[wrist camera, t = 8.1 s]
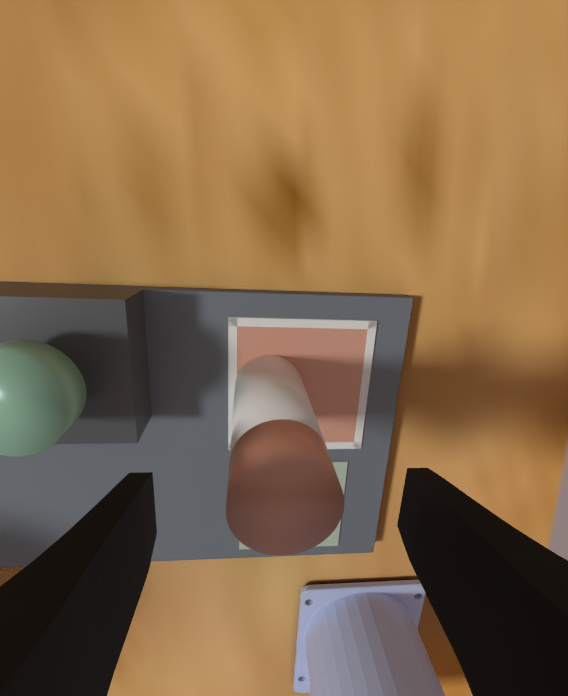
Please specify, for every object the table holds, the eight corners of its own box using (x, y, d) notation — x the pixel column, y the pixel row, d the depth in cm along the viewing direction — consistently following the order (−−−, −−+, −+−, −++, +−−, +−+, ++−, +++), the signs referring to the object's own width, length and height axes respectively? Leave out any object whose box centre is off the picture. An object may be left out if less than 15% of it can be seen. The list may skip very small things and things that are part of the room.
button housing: (152, 415, 17) (137, 443, 15) (17, 415, 17) (-19, 444, 15) (143, 289, 16) (125, 299, 13) (-9, 284, 15) (-55, 294, 13)
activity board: (368, 541, 22) (373, 554, 21) (-23, 555, 20) (-36, 570, 19) (405, 295, 18) (414, 298, 17) (-98, 278, 15) (-120, 281, 14)
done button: (92, 433, 14) (75, 455, 12) (-13, 434, 13) (-42, 457, 12) (80, 340, 12) (59, 353, 11) (-35, 338, 12) (-70, 352, 11)
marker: (299, 416, 18) (337, 553, 10) (234, 416, 18) (224, 557, 10) (304, 355, 17) (350, 457, 9) (235, 353, 17) (226, 458, 9)
